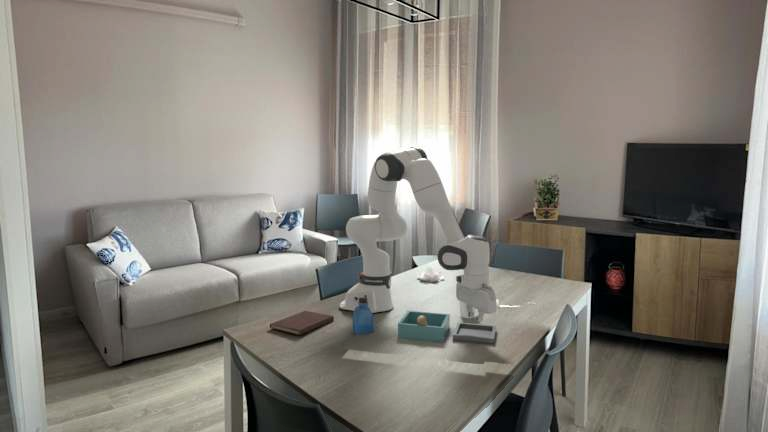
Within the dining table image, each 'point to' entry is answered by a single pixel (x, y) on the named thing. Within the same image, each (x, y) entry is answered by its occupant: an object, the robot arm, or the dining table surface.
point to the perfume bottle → (362, 318)
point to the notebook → (301, 322)
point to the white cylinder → (465, 310)
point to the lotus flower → (431, 275)
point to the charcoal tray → (474, 333)
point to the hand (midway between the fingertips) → (475, 319)
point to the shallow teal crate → (424, 326)
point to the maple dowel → (422, 320)
